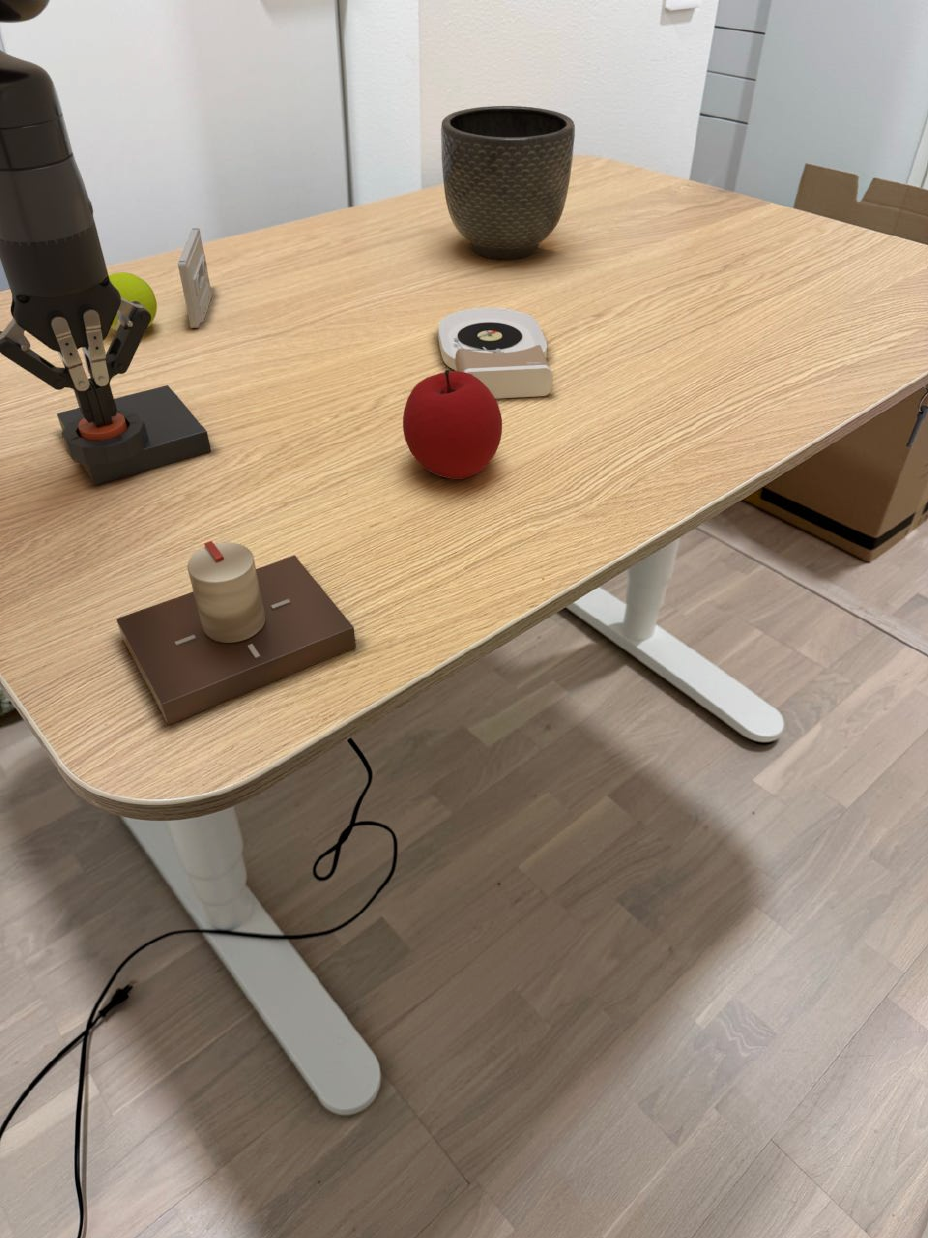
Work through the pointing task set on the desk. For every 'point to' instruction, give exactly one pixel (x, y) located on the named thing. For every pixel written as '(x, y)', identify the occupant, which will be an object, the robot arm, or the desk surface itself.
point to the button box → (137, 436)
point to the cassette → (195, 278)
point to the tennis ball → (133, 293)
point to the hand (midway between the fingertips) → (101, 421)
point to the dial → (227, 591)
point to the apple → (452, 424)
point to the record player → (497, 350)
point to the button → (102, 429)
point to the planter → (506, 176)
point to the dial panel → (215, 671)
